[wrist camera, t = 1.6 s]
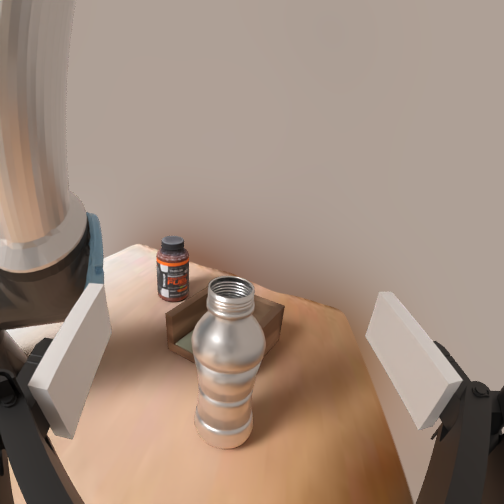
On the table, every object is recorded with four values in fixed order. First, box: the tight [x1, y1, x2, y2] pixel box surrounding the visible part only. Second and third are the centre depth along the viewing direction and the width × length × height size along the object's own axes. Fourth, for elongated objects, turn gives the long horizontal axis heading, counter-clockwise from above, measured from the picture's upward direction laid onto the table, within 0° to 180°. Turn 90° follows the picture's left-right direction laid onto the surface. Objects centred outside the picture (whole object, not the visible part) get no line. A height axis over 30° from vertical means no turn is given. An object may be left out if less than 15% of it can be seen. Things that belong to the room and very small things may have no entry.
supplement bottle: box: [157, 236, 189, 302], centre depth 57 cm, size 6×6×11 cm
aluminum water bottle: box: [191, 276, 266, 449], centre depth 29 cm, size 6×7×20 cm
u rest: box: [166, 287, 285, 363], centre depth 47 cm, size 12×12×6 cm
